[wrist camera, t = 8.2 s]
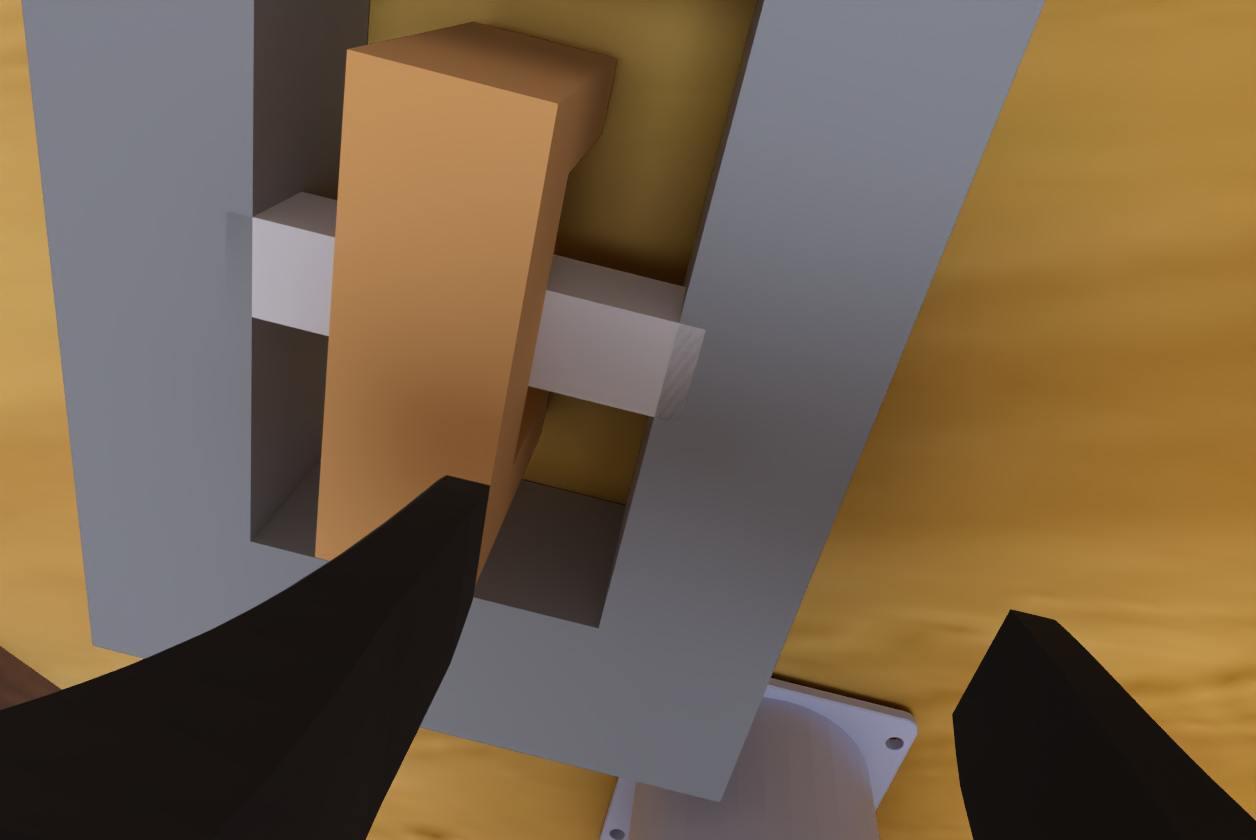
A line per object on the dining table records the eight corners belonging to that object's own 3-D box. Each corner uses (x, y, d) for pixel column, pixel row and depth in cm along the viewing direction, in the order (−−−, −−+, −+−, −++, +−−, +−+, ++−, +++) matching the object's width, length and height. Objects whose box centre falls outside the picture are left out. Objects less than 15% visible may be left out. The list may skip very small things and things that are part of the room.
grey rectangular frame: (724, 660, 26) (720, 802, 22) (203, 530, 26) (92, 645, 22) (1051, -236, 15) (1173, -315, 11) (177, -452, 16) (-47, -616, 11)
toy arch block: (540, 434, 22) (470, 597, 16) (425, 404, 22) (314, 557, 16) (617, 59, 18) (558, 103, 12) (473, 21, 18) (347, 49, 12)
